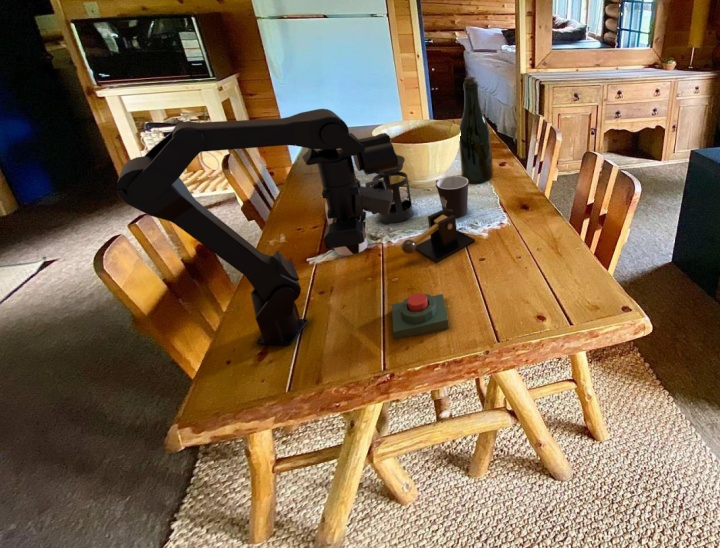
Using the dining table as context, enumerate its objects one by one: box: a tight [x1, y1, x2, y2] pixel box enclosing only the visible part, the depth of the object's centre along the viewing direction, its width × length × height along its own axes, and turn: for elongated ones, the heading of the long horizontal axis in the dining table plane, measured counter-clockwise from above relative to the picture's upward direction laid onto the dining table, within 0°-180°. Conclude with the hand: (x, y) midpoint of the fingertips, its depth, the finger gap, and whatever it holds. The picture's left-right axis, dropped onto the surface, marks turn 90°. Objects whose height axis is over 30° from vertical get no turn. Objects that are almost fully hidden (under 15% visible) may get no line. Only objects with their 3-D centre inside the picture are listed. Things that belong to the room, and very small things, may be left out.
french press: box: [365, 137, 415, 226], centre depth 118 cm, size 12×9×23 cm
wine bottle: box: [458, 76, 494, 184], centre depth 139 cm, size 10×10×33 cm
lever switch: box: [415, 209, 476, 264], centre depth 108 cm, size 12×9×9 cm
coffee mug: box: [435, 175, 469, 220], centre depth 123 cm, size 12×9×10 cm
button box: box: [391, 293, 450, 340], centre depth 85 cm, size 10×8×4 cm
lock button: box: [407, 292, 428, 312], centre depth 84 cm, size 4×4×2 cm
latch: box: [401, 215, 447, 254], centre depth 103 cm, size 13×3×3 cm, turn 139°
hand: (356, 252), depth 86 cm, fingers closed
